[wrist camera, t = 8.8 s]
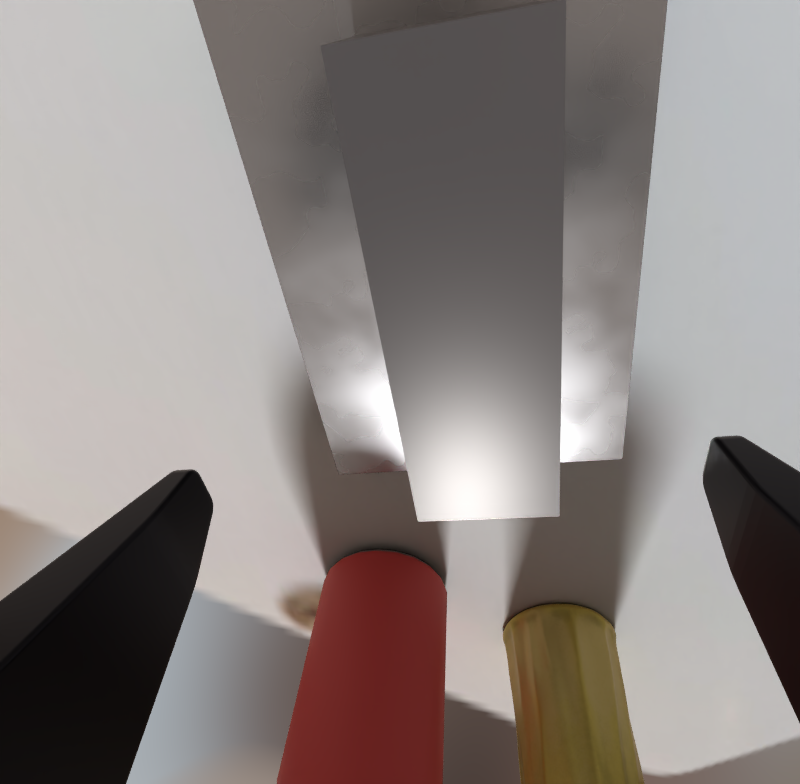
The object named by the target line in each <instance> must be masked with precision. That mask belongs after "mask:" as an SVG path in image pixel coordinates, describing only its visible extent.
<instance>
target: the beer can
mask: <svg viewBox="0 0 800 784" xmlns="http://www.w3.org/2000/svg"><path fill="white" fill-rule="evenodd" d="M446 614H447V591H446V589H445V586H444V584H443V581H442V579H441V577H440V576H439V575H438V574H437V573H436V572H435V571H434V570H433V569H432V568H431V567H430V566H429V565H428V564H426V563H424V562H423V561H421V560H419V559H417V558H416V557H414V556H411V555H408V554H404V553H401V552H398V551H391V550H380V549H375V550H367V551H359V552H357V553H354V554H351V555H349V556H346V557H344V558H342V559H341V560H340V561H339V562H337V563H336V564H335V565H334V566H333V567H331V569H330V570H329V572H328V574H327V576H326V578H325V580H324V584H323V588H322V593H321V597H320V601H319V605H318V609H317V614H316V618H315V622H314V626H313V631H312V635H311V639H310V643H309V647H308V652H307V656H306V660H305V664H304V669H303V673H302V677H301V681H300V685H299V690H298V694H297V698H296V702H295V707H294V711H293V715H292V719H291V724H290V728H289V732H288V736H287V740H286V744H285V749H284V753H283V757H282V761H281V766H280V770H279V774H278V778H277V784H443V743H444V740H443V739H444V700H445V657H446Z"/></svg>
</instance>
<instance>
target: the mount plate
mask: <svg viewBox="0 0 800 784" xmlns="http://www.w3.org/2000/svg"><path fill="white" fill-rule="evenodd" d="M193 1H194V5H195V8H196V11H197V14H198V18H199V21H200V24H201V27H202V31H203V34H204V37H205V40H206V44H207V47H208V50H209V53H210V57H211V60H212V63H213V66H214V70H215V73H216V76H217V80H218V83H219V86H220V89H221V93H222V96H223V99H224V102H225V106H226V109H227V112H228V115H229V119H230V122H231V125H232V128H233V132H234V135H235V138H236V141H237V145H238V148H239V151H240V155H241V158H242V161H243V164H244V168H245V171H246V174H247V177H248V181H249V184H250V187H251V190H252V194H253V197H254V200H255V203H256V207H257V210H258V213H259V216H260V220H261V223H262V226H263V230H264V233H265V236H266V239H267V243H268V246H269V249H270V252H271V256H272V259H273V262H274V265H275V269H276V272H277V275H278V278H279V282H280V285H281V288H282V291H283V295H284V298H285V301H286V305H287V308H288V311H289V314H290V318H291V321H292V324H293V327H294V331H295V334H296V337H297V340H298V344H299V347H300V350H301V353H302V357H303V360H304V363H305V366H306V370H307V373H308V376H309V380H310V383H311V386H312V389H313V393H314V396H315V399H316V402H317V406H318V409H319V412H320V415H321V419H322V422H323V425H324V428H325V432H326V435H327V438H328V441H329V445H330V448H331V451H332V455H333V458H334V461H335V464H336V468H337V471H338V474H356V473H374V472H393V471H407V467H406V462H405V457H404V452H403V447H402V443H401V438H400V433H399V428H398V423H397V418H396V413H395V408H394V404H393V399H392V394H391V389H390V384H389V379H388V374H387V369H386V365H385V360H384V355H383V350H382V345H381V340H380V335H379V330H378V326H377V321H376V316H375V311H374V306H373V301H372V296H371V291H370V287H369V282H368V277H367V272H366V267H365V262H364V257H363V252H362V248H361V243H360V238H359V233H358V228H357V223H356V218H355V213H354V209H353V204H352V199H351V194H350V189H349V184H348V179H347V174H346V170H345V165H344V160H343V155H342V150H341V145H340V140H339V136H338V131H337V126H336V121H335V116H334V111H333V106H332V101H331V97H330V92H329V87H328V82H327V77H326V72H325V67H324V62H323V58H322V53H321V48H320V46H321V45H324V44H328V43H332V42H335V41H339V40H342V39H346V38H349V37H353V36H357V35H363V34H368V33H373V32H378V31H383V30H389V29H394V28H399V27H404V26H410V25H415V24H420V23H425V22H431V21H436V20H441V19H446V18H452V17H457V16H462V15H467V14H473V13H478V12H483V11H488V10H494V9H499V8H504V7H509V6H514V5H520V4H525V3H530V2H535V1H544V0H193ZM667 1H668V0H566V65H565V141H564V217H563V293H562V368H561V444H560V462H577V461H596V460H614V459H622V458H623V448H624V437H625V427H626V417H627V407H628V397H629V387H630V377H631V366H632V356H633V346H634V336H635V326H636V316H637V306H638V295H639V285H640V275H641V265H642V255H643V245H644V234H645V224H646V214H647V204H648V194H649V184H650V174H651V163H652V153H653V143H654V133H655V123H656V113H657V103H658V92H659V82H660V72H661V62H662V52H663V42H664V31H665V21H666V11H667Z"/></svg>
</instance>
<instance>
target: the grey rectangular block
mask: <svg viewBox="0 0 800 784" xmlns="http://www.w3.org/2000/svg"><path fill="white" fill-rule="evenodd" d="M320 48H321V53H322V58H323V62H324V67H325V72H326V77H327V82H328V87H329V92H330V97H331V101H332V106H333V111H334V116H335V121H336V126H337V131H338V136H339V140H340V145H341V150H342V155H343V160H344V165H345V170H346V174H347V179H348V184H349V189H350V194H351V199H352V204H353V209H354V213H355V218H356V223H357V228H358V233H359V238H360V243H361V248H362V252H363V257H364V262H365V267H366V272H367V277H368V282H369V287H370V291H371V296H372V301H373V306H374V311H375V316H376V321H377V326H378V330H379V335H380V340H381V345H382V350H383V355H384V360H385V365H386V369H387V374H388V379H389V384H390V389H391V394H392V399H393V404H394V408H395V413H396V418H397V423H398V428H399V433H400V438H401V443H402V447H403V452H404V457H405V462H406V467H407V472H408V477H409V482H410V486H411V491H412V496H413V501H414V506H415V511H416V516H417V521H418V522H424V521H451V520H478V519H504V518H531V517H558V516H560V444H561V368H562V293H563V217H564V141H565V65H566V0H544V1H535V2H530V3H525V4H520V5H514V6H509V7H504V8H499V9H494V10H488V11H483V12H478V13H473V14H467V15H462V16H457V17H452V18H446V19H441V20H436V21H431V22H425V23H420V24H415V25H410V26H404V27H399V28H394V29H389V30H383V31H378V32H373V33H368V34H363V35H357V36H353V37H349V38H346V39H342V40H339V41H335V42H332V43H328V44H324V45H321V46H320Z"/></svg>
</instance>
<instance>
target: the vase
mask: <svg viewBox="0 0 800 784" xmlns="http://www.w3.org/2000/svg"><path fill="white" fill-rule="evenodd" d="M503 641H504V644H505V647H506V652H507V658H508V666H509V675H510V683H511V690H512V696H513V704H514V712H515V720H516V730H517V742H518V756H519V768H520V778H521V784H644V780H643V775H642V770H641V766H640V761H639V757H638V753H637V748H636V744H635V740H634V736H633V731H632V727H631V723H630V719H629V714H628V707H627V701H626V695H625V689H624V684H623V679H622V674H621V668H620V662H619V657H618V652H617V647H616V633H615V630H614V628H613V627H612V625H611V624H610V623H609V621H607V620H606V619H605V618H604V617H603V616H602V615H600V614H599V613H597V612H595V611H593V610H591V609H588V608H585V607H582V606H578V605H573V604H546V605H540V606H536V607H533V608H530V609H527V610H525V611H522V612H521V613H519V614H517V615H516V616H514V617H513V618H512V619H511V620H510V621H509V622H508V624H507V625H506V627H505V629H504V632H503Z"/></svg>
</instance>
